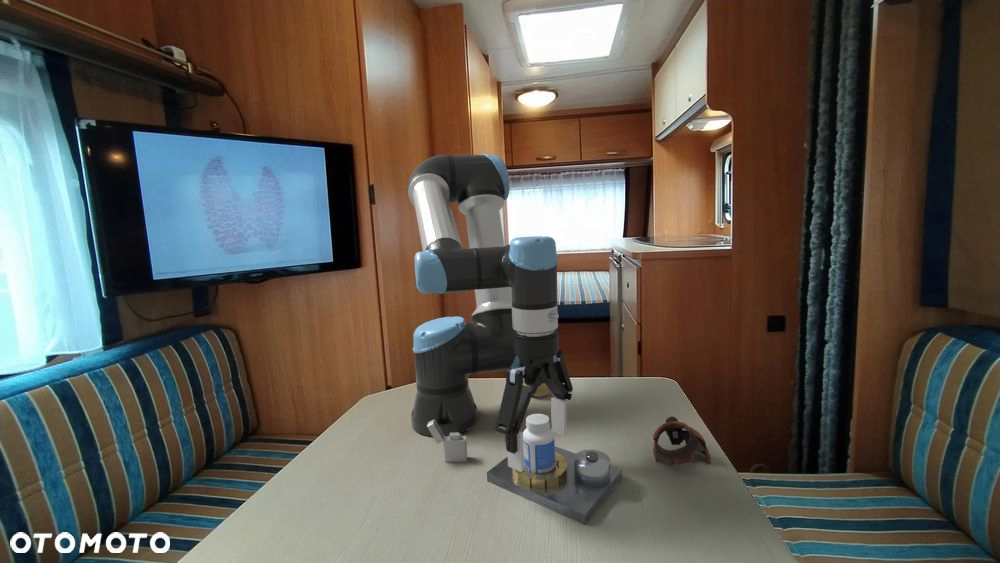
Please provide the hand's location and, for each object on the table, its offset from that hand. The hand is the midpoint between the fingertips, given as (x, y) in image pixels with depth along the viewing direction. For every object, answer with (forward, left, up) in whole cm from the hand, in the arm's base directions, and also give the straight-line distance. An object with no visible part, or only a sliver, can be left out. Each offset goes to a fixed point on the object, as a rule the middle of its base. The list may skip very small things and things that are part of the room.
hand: (539, 449), depth 75 cm
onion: (-20, +30, -6) cm, 37 cm away
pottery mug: (+18, +20, -6) cm, 28 cm away
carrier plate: (+2, +1, -6) cm, 6 cm away
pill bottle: (0, 0, -4) cm, 4 cm away
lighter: (-18, -5, -6) cm, 19 cm away
